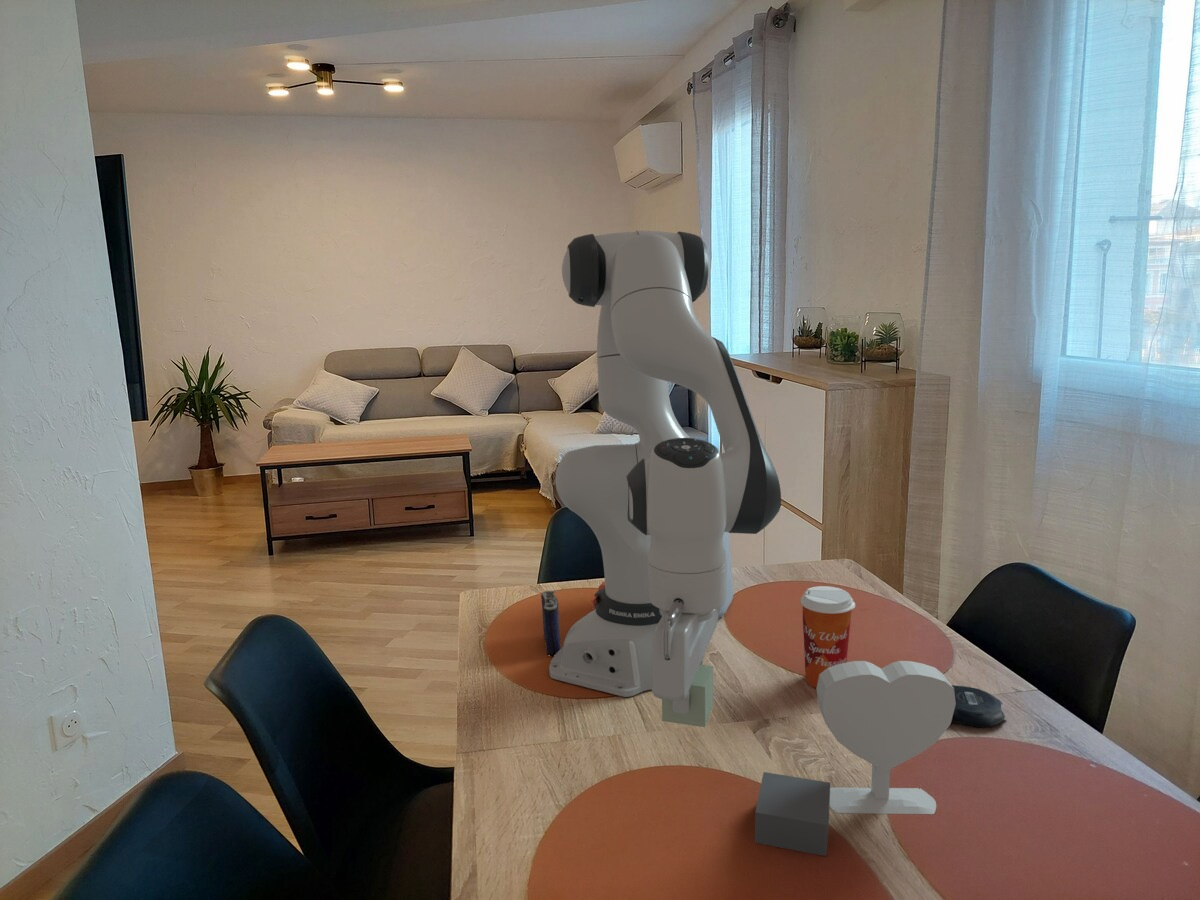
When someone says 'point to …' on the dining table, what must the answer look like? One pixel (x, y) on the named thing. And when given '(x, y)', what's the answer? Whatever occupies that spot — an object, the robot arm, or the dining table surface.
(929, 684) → the heart sculpture
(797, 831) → the charcoal block
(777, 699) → the dining table surface
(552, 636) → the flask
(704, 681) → the green cube
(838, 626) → the coffee cup
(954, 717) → the black rounded flattened block
